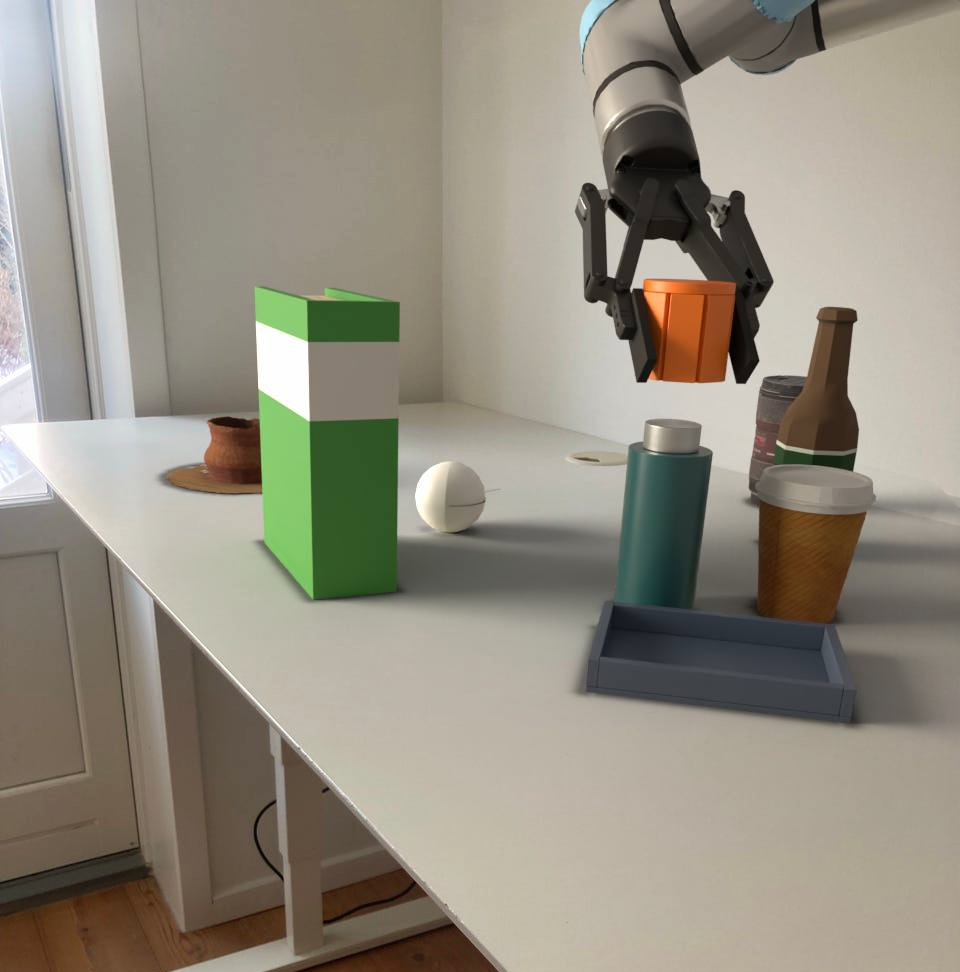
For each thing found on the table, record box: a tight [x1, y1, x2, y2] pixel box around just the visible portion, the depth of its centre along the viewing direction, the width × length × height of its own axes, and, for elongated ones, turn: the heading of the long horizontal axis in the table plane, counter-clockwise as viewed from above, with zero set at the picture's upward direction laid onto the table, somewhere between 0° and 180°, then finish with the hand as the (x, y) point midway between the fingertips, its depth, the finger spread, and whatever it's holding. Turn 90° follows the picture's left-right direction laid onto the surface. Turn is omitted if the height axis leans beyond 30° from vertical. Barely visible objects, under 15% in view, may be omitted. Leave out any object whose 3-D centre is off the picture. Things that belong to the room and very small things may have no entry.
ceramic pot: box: [164, 415, 263, 494], centre depth 125 cm, size 18×18×7 cm
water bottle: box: [613, 418, 714, 610], centre depth 83 cm, size 7×7×16 cm
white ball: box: [415, 460, 500, 534], centre depth 107 cm, size 10×7×7 cm
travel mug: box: [748, 374, 807, 508], centre depth 121 cm, size 8×8×15 cm
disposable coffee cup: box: [755, 464, 877, 624], centre depth 86 cm, size 10×10×12 cm
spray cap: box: [642, 278, 736, 384], centre depth 78 cm, size 7×7×7 cm
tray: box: [584, 600, 858, 724], centre depth 74 cm, size 18×13×3 cm
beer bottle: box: [773, 306, 860, 472], centre depth 102 cm, size 8×8×24 cm
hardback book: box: [254, 285, 401, 601], centre depth 90 cm, size 18×7×24 cm, turn 24°
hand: (697, 371), depth 76 cm, fingers closed on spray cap, 7 cm apart
